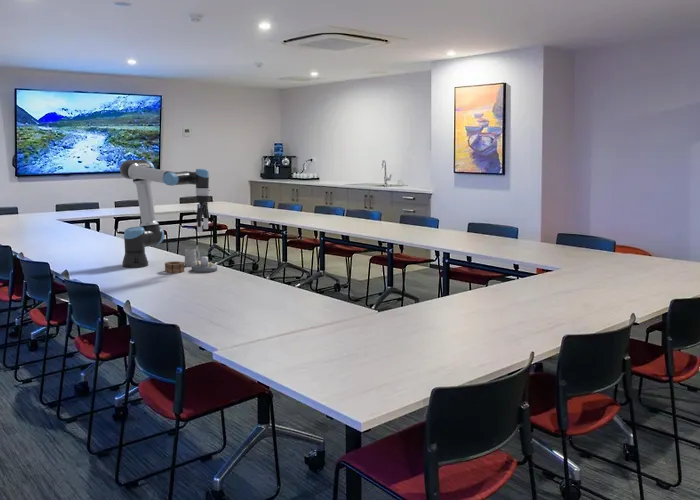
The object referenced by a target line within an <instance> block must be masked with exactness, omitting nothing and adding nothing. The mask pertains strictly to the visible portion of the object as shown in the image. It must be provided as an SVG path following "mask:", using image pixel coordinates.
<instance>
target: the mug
mask: <svg viewBox="0 0 700 500" xmlns="http://www.w3.org/2000/svg"><path fill="white" fill-rule="evenodd" d="M183 256H184V261H183V262H184V267H192V266H193V265H197V261H199V262H200V261H201V259H200V257H201V253H200V249H199V245H198V244H197V245H196V246H195V248H186V249H184V255H183Z"/></svg>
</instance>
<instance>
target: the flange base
mask: <svg viewBox="0 0 700 500" xmlns="http://www.w3.org/2000/svg"><path fill="white" fill-rule="evenodd" d="M196 262H197V263H196V265H193V266H191V272H193V273H201V274H204V273H205V274H206V273H207V274H208V273H214V272H217V271H218V265H217V264H214V263H212V262H211V261H210V262H209V256H200V260H199V261H196Z"/></svg>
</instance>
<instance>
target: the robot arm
mask: <svg viewBox="0 0 700 500" xmlns="http://www.w3.org/2000/svg"><path fill="white" fill-rule="evenodd" d="M119 172H120V174H121V176H122V177H123V178H125V179H128V180H132V182H133V184H134V185H135V186H136V192H137V193H136V194H137V199H138V207H139V213H140V220H141V223H140V224H139V226H133V227H128V228H126V229H124V235H123V238H124V239H123V242H124V256H123V260H122V261H121V263H122V264H121V265H122V267H123V268H131V269H132V268H144V267H148V266H149V260H148V257H147V254H146V247H147V248H148V247H154V246H157V245H160V244H162V242H163V241H164V239H165V231H164V229H162V227H161V226H160V224H159V222H157V220H156V214H155V213H156V212H155V208H154V206H155V205H154V199H153V192H152V186H151V183H152V182H155V183H161V184H165V185H167V186H172V187H173V186H181V185H182V186H183V185H195V202H196V203H198V204H197V207H196V208H197V209H196V218H195V221H196V223H197V225H196V228H197V229H196V232H197V233H203V230H208V229H209V219H210V215H209V206H208V204H209V201H210V196H209V194H210V187H209V182H210V174H209V169H206V168H196V169H195V171H187V170H186V171H170V170H164V169H158V168H155V166H154V164H153V163H152V162H151V161H150V160H148V159H127V160H125V161H123V162H122V163H121V164H120V168H119Z"/></svg>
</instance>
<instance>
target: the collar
mask: <svg viewBox="0 0 700 500" xmlns="http://www.w3.org/2000/svg"><path fill="white" fill-rule="evenodd" d="M184 262H185V261H178V260H176V261H175V260H174V261H167V262H164V272H166V274H180V273H185V264H184Z"/></svg>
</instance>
